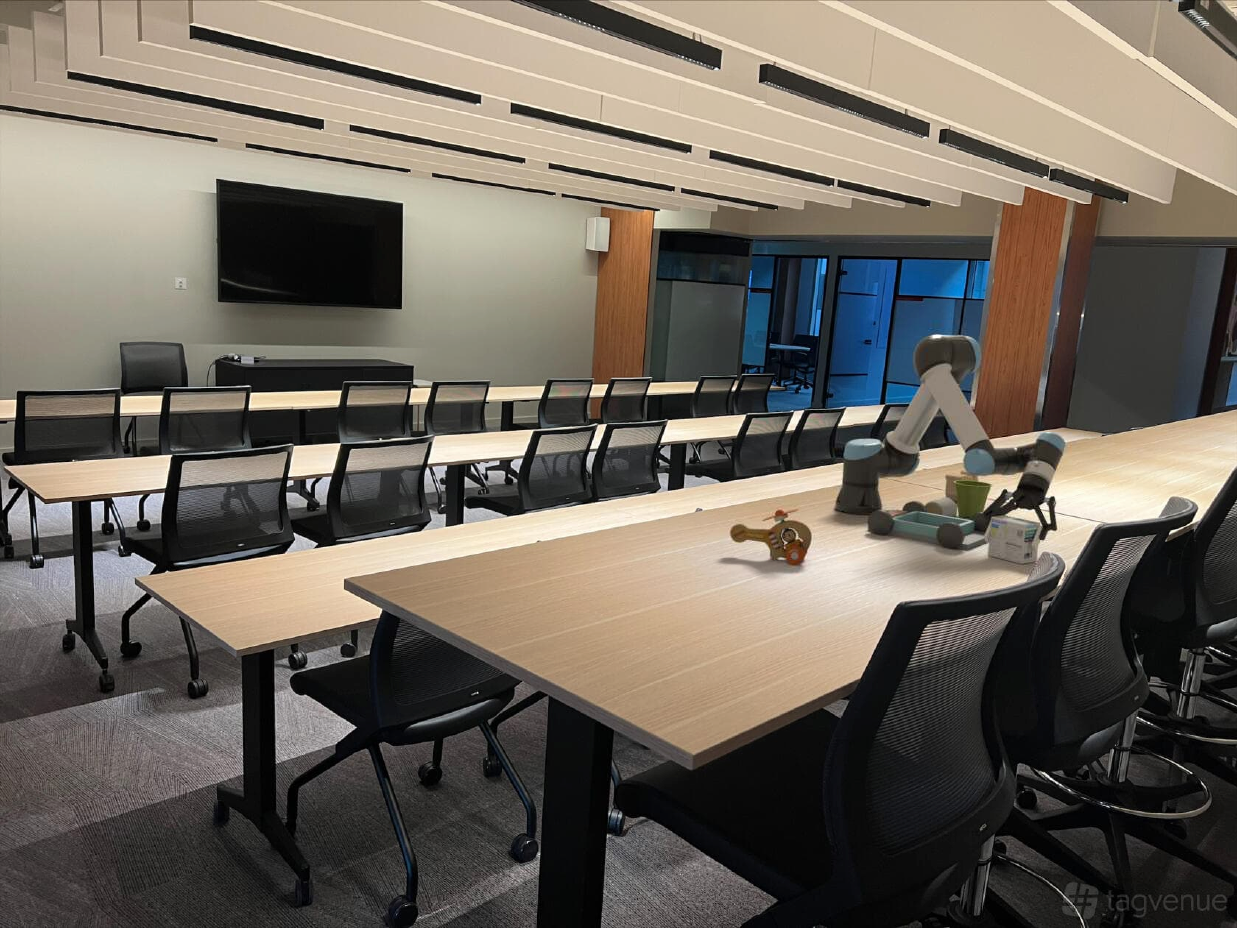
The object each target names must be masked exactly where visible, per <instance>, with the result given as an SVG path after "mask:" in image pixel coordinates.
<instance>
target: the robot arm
mask: <svg viewBox="0 0 1237 928" xmlns="http://www.w3.org/2000/svg"><path fill="white" fill-rule="evenodd" d="M982 355H983V354H982V349H981V346H980V344H979V343H978V341H977V340H976V339H975V338H973V337H972V336H967V335H962V334H958V335H953V334H952V335H948V334H931V335H928V336H926V337H924V338H922V339H921V340H920V341H919V342H918V343H917V344H916V346H915V349H914V351H913V355H912V361H913V363H912V364H913V367H914V371H915V373H916V375H917V377H918V379H919V381H920V382H921V384H920V386H919V388H918V389H917V391H916V393H915V395H914V396H913V398H912V400H911V402H910V404H909V405H908V407H907V408H906V411H904V414H903V416H901V419H900V421H898V424H897V426H896V428H894V430H892V431H889V432H887V434H886V436H885V437H884V439H883V441H881V440H880V439H878V438H877V439H876V438H857V439H852V440H850V441H848V442H846V444H845V447H844V451H843V464H842V465H843V466H842V467H843V468H842V478H841V479H842V482H841V487H840V490H839V492H838V495H837V497H836V500H835V502H834V509H835V510H836V509H838V510H837V511H839V512H842V511H844V512H843V513H846V512H847V513H848V514H855V515H870V514H871V513H873V512H875V511H878V510H883V502H882V499H881V494H880V491H879V490H880V489H879V483H880V482H879V481H880V479H883V478H884V479H885V478H903V477H906V476H909V475H910V476H911V474H913V473H914V472H915V471H916V469H918V466H919V464H920V460H921V459H920V456H921V454H920V450H921V449H920V445H919V443H920V442H921V439H922V438H923V436H924V435H925V433H926V431H927V429H928V428H929V426H930V424H931V423H932V421H933V420H934V418H935V416H936V414H937V413H938V412H939V410H940V411H941V413H942V414H943V416H944V418H945V420H946V422H947V423H948V425H949V427H950V429H951V430H952V432H953V434H954V436H955V438H956V439H957V441H958V443H959V444H960V446H961V448H962V450H963V452H964V453H965V454H964V456H963V459H962V461H963V468H964V471H967V472H968V473H969V474H971V475H975V476H978V477H987V476H993V475H1001V476H1015V475H1017V474H1021V473H1022V474H1021V477H1020V479H1019V482H1018V484H1017V486H1016V489H1015V490H1014V491H1008V489H1006V488H1003V489H1002V491H1001V493H1000V495H999V496H998V497H997V498H996V499H995V500H994V501H992V503H991V504H989V505H988V507H987V508H985V509H984V511H983V515H984V518H985V519H986V520H987V519H988V520H987V522H986V525H985V528H986V530H987V531H986V533H985V535H984V538H985V541H986V543H988V544H989V535H990V524H991V517H996V516H1004V515H1006V516H1007V514H1009V513H1011V512H1013V511H1017V510H1018V509H1021V510H1027V511H1032V510H1034V511H1035V514H1036V516H1037V518H1038V520H1039V522H1040V525H1039V527H1038V530H1037V532H1036V535H1035V537H1034V540H1033V542H1032V545H1031V546H1032V549H1033V551H1035V552H1036V551H1037V548H1038V549H1039V545H1040V543H1041V541H1045V540H1046V538H1047V536H1048V532H1050V531H1053V532H1057V531H1058V525H1057V518H1056V509H1055V508H1056V505H1057V499H1056V497H1055V495H1050V497H1048V496H1047V494H1048V491H1049V489H1050V486H1051V484H1052V482H1053V479H1054V477H1055V474H1056V471H1057V469H1058V466H1059V463H1060V461H1061V459H1062V457H1063V456H1064V451H1065V447H1066V441H1065V440H1064V438H1063V437H1062V436H1061V435H1059V434H1057V433H1055V432H1049V431H1048V432H1047V431H1045V432H1042V433H1041V434H1039V435H1038V436H1037V438H1036V439H1035V442H1034V443H1027V444H1025V445H1020V446H1015V447H994V445H993V443H992V442H991V440H990V438H989V436H988V435H987V433H986V431H985V430H984V428H983V426H982V425H981V423H980V421H979V419H978V417H977V416H976V414H975V413H974V412H975V411H973V409H972V407H971V405H970V403H969V402H968V400H967V398H966V396H965V395H964V392H963V391H962V390H961V387H960V386H959V385H961V383H962V381H963V380H964V378H965V376H966V375H969V374H973V373H975V372H976V371H977V370H978V369H979V367H980V365H981V363H982V358H983V356H982ZM1046 496H1047V497H1046ZM1010 498H1011V499H1010ZM1007 501H1008V502H1007ZM1045 503H1046V505H1047V506H1048V513H1049V521H1050V523H1048V521H1047V519H1046V517H1045V516H1044V513H1043V512H1042V509H1041V506H1042V505H1044V504H1045ZM1037 552H1038V551H1037Z"/></svg>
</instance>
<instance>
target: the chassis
mask: <svg viewBox="0 0 1237 928" xmlns="http://www.w3.org/2000/svg"><path fill="white" fill-rule="evenodd" d="M983 512H984V511H983ZM983 512H979V513H976V514H974V515H972V516H971V517H970V518H969V519H965V518H961V517H960V518H959V517H958V518H954V517H948V516H943V515H937V514H931V513H927V510H926V507H925V504H924V503H923V502H921V501H918V500H911V501H908V502H906V503H905V504H904V505H903V506H902V509H901V510H900V509H894V510H889V511H888V510H885V509H882V510H878V511H875V512H873V513H871V514H868V515H869V516H868V517H867V532H872V533H873V534H875V535H879V536H880V535H888V536H895V537H899V538H903V539H910V540H912V541H913V540H915V541H919V542H925V543H929V544H934V545H939V546H942V547H943V548H945V549H954V548H956V549H961V550H966V551H968V550H971V549H973V548H976V547H978V546H980V545H983V544H986V543H987V542H986V541H985V538H984V535H985V533H986V531H987V530H986V528H985V525H986V522H987V520H988V519H987V520H986V519H985V518H984V515H983Z"/></svg>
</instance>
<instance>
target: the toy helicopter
mask: <svg viewBox="0 0 1237 928" xmlns="http://www.w3.org/2000/svg"><path fill="white" fill-rule="evenodd" d="M798 511H799V509H798V508H797V509H792V510H791V509H790V510H787V511H784V510H783V509H777V510H776V511H775V512H774V515H772V516H768V517H766V518H763V519H762V520H761V521H762V522H765V521H767V520H771V519H774V521H775V522H776V524H775V525H773V526H772V527H771V528H768V529H767V528H749V527H748V526H747V525H746V524H743V523H737V524H735V525H733V526H732V527H731V529H730V532H729V533H730V534H729V536H730V538H731V539H732V541H733V542H736V543H744V542H746V541H754V542H758V543H759V542H760V543H764V544H766V546H767V547H768V549H769V558H771V560H773V559H776V560H778V559H779V558H782V559H785V560H786V561H787V562H788V563H789V564H791V565H794V566H797V565H800V564H801V563H803V562H804V560H805V558H806V556H807V554H808V550H809V548H810V546H811V543H812V531H811V529H810V528H809V526H808V525H807V524H805V523H804V522H802V521H799V520H794V519H789V520H785V519H787V518H789V514H791V513H796V512H798Z"/></svg>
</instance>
